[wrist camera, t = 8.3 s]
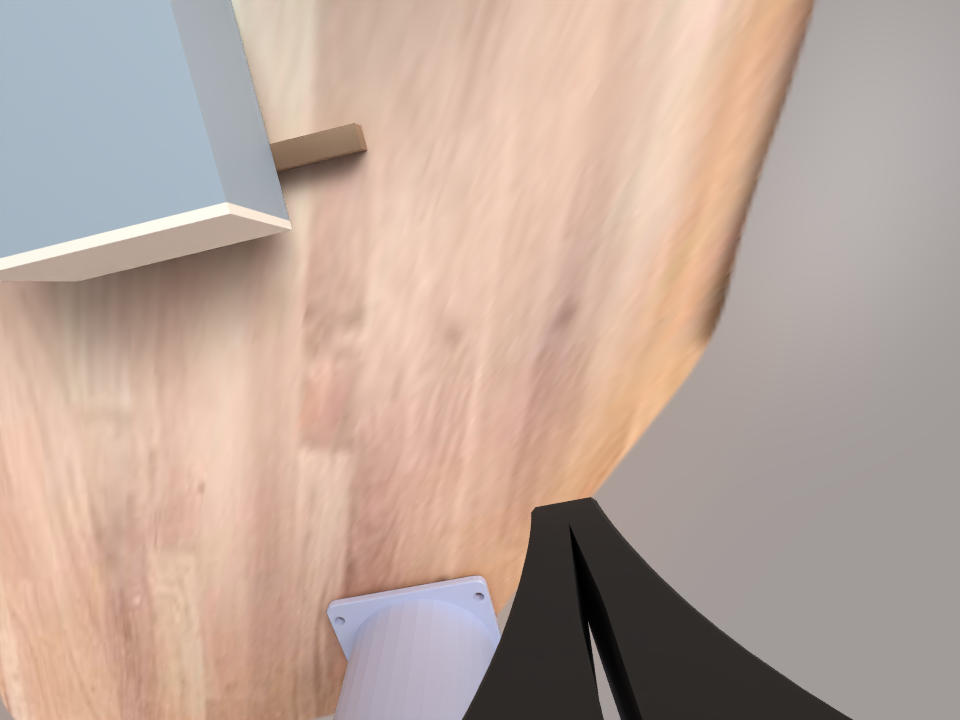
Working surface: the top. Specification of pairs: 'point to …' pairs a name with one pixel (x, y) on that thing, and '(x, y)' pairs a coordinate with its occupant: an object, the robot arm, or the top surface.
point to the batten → (318, 147)
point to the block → (127, 137)
